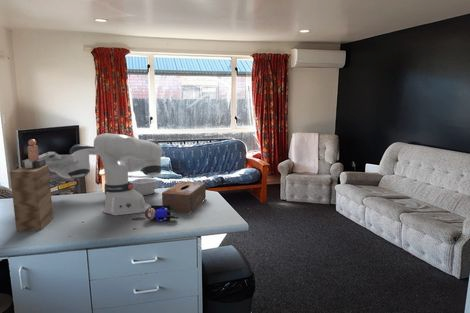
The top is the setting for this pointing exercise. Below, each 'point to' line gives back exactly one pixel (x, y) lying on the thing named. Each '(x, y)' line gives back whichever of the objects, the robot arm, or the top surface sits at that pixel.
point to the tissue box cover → (184, 196)
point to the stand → (32, 196)
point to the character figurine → (160, 212)
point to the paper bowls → (145, 185)
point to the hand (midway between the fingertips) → (49, 154)
